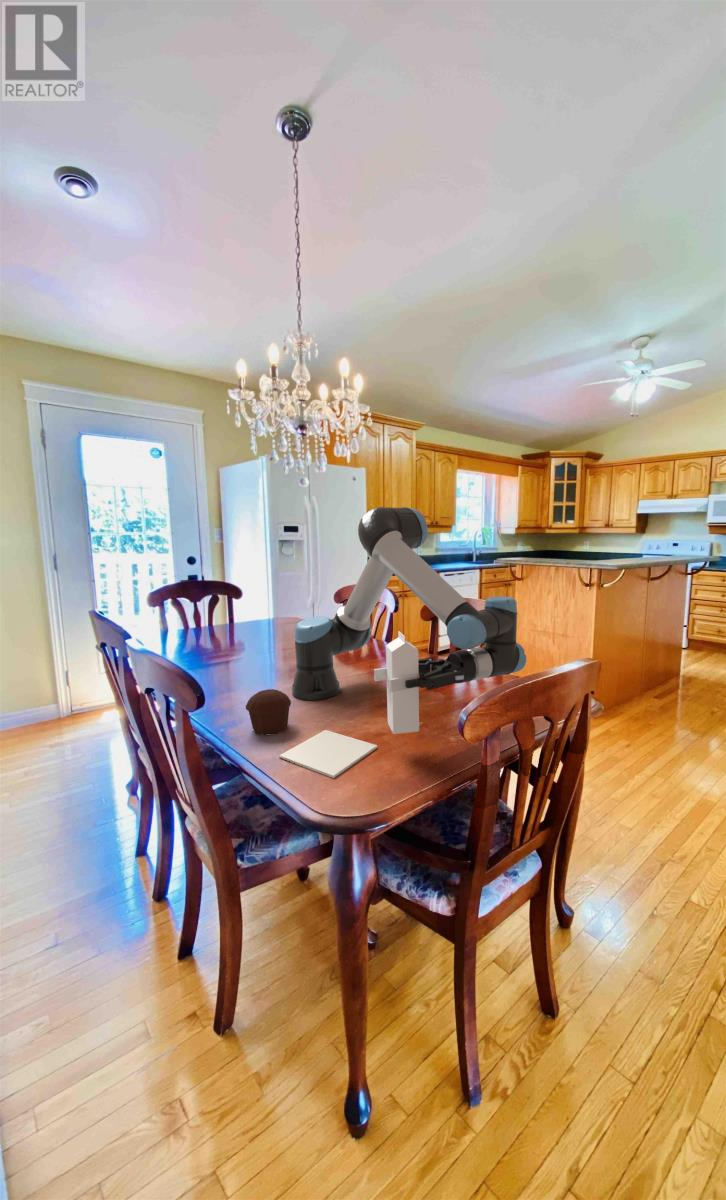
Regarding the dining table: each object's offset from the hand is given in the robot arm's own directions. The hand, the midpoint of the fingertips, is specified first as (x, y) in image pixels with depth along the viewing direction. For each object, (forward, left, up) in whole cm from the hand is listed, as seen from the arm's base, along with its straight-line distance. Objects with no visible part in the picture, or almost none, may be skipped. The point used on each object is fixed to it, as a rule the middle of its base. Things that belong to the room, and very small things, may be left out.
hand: (382, 680), depth 101 cm
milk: (-4, +2, -12) cm, 13 cm away
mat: (+6, -12, -18) cm, 22 cm away
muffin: (+4, -34, -18) cm, 38 cm away
